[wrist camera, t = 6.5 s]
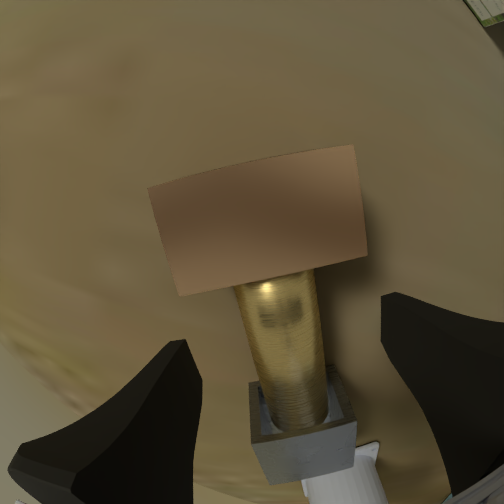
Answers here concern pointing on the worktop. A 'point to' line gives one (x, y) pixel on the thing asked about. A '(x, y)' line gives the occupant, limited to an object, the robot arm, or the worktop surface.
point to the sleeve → (304, 437)
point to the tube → (287, 347)
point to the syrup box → (487, 11)
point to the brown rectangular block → (261, 219)
